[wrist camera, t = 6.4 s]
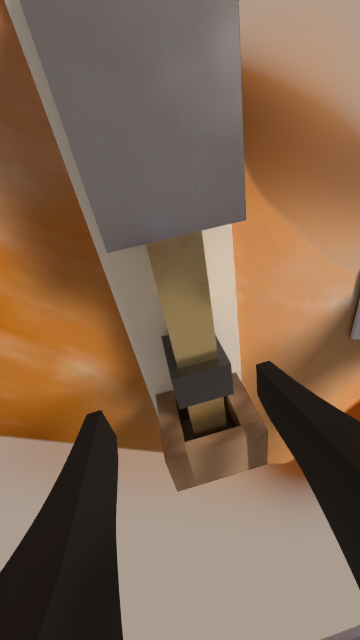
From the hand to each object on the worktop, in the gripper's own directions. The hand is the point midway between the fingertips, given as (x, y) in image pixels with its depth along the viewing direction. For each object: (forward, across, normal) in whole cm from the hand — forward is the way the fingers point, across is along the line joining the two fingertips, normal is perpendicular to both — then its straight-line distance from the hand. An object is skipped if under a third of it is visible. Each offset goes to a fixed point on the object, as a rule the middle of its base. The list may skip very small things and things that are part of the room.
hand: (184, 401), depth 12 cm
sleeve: (+9, -2, -12) cm, 15 cm away
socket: (+9, -1, +12) cm, 15 cm away
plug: (+9, -2, +3) cm, 9 cm away
